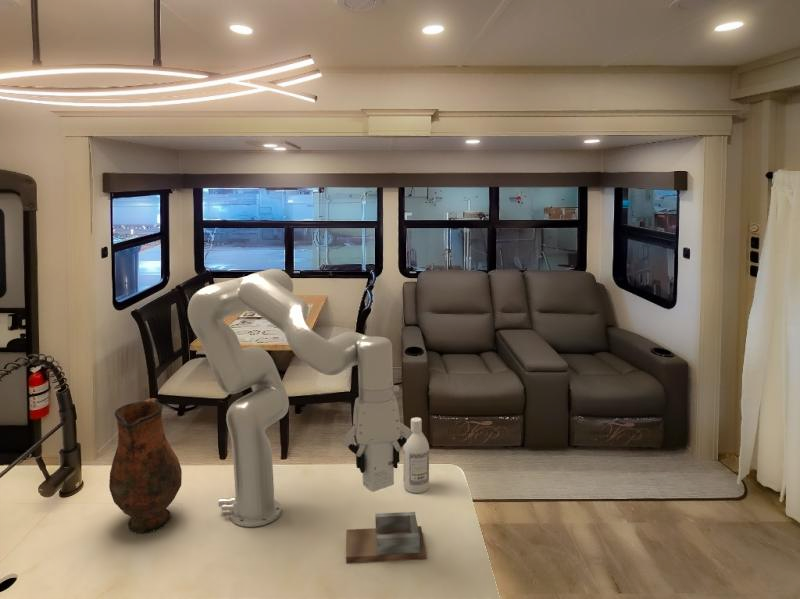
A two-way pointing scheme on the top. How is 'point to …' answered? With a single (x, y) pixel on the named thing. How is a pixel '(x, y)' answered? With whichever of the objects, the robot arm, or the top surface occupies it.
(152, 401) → the pitcher
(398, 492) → the top surface
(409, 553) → the u rest
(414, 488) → the bath foam
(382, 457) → the skincare box
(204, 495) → the top surface
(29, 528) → the top surface
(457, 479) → the top surface
